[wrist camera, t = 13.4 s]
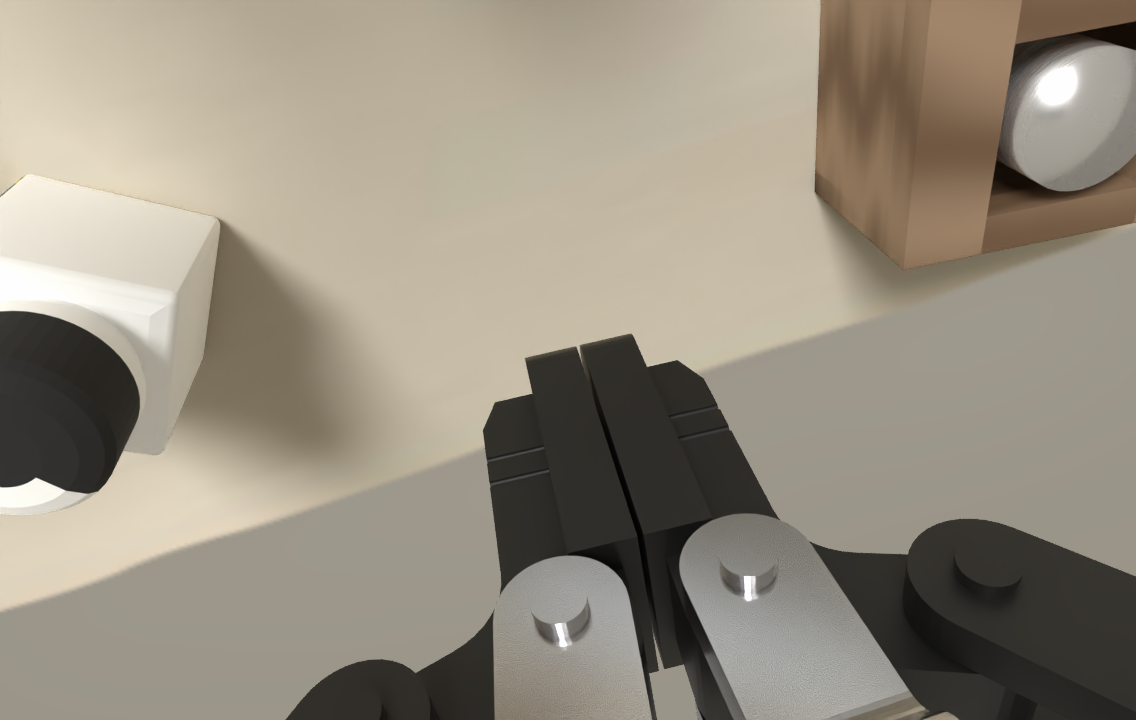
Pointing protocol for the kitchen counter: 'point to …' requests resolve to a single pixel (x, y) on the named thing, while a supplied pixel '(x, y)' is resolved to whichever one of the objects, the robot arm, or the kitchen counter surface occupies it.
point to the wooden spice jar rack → (947, 125)
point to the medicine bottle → (93, 334)
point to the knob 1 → (1069, 111)
